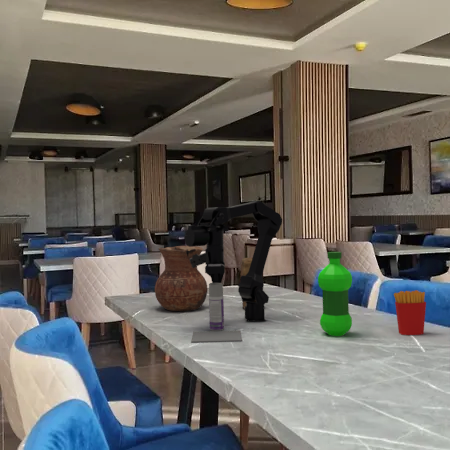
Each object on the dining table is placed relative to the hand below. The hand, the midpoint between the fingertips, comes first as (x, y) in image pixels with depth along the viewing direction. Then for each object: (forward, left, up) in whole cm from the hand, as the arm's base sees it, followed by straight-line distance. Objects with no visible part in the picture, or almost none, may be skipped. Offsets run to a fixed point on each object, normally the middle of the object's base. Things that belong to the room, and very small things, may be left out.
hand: (215, 292), depth 175 cm
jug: (+14, -37, -12) cm, 42 cm away
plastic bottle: (-37, +15, -12) cm, 41 cm away
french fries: (-59, +17, -12) cm, 62 cm away
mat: (0, +14, -12) cm, 18 cm away
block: (-14, -34, -12) cm, 39 cm away
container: (0, +4, -12) cm, 12 cm away
